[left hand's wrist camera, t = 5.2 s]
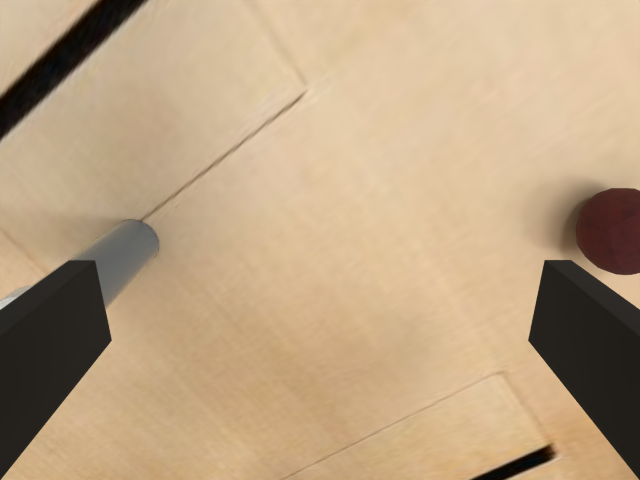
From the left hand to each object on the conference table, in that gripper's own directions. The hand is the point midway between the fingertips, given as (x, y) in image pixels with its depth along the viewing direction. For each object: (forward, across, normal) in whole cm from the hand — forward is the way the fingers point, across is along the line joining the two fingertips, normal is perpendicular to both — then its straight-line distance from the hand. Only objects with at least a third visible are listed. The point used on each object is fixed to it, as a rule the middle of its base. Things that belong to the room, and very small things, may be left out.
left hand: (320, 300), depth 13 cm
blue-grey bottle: (+28, -18, -9) cm, 35 cm away
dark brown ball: (+28, +27, -6) cm, 39 cm away
